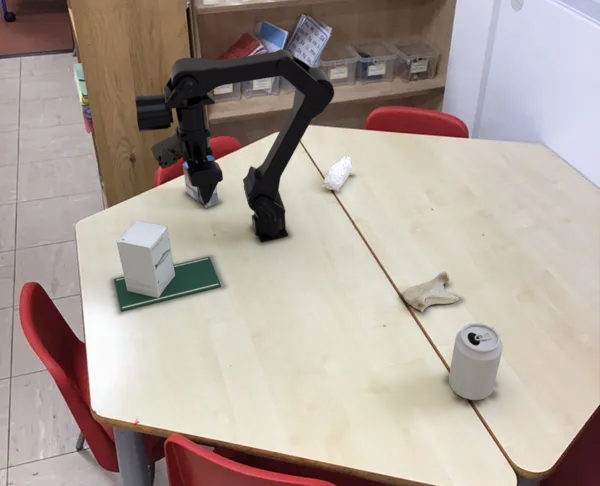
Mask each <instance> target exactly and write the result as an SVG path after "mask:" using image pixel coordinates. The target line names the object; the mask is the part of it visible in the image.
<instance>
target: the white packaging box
mask: <svg viewBox="0 0 600 486" xmlns="http://www.w3.org/2000/svg"><path fill="white" fill-rule="evenodd" d="M116 246H117V250H118V255H119V259H120V264H121V268H122V273H123V277H124V278H125V282H126V287H127V291H130V292H134V293H139V294H143V295H147V296H152V297H156V298H159V296H160V295H161V293H162V292H163V291H164V289H165V288H166V286H167V285H168V284H169V283H170V281H171V280H172V279H173V278H174V276H175V272H174V265H175V264H174V259H173V254H172V253H173V252H172V247H171V242H170V235H169V230H168V226H164V225H160V224H154V223H148V222H144V221H138V220H135V221H134V222H133V223H132V224H131V225H130V227H128V229H126V231H124V233H123V234H122V235H121V236H120V237H119V239H118V240H117V241H116Z"/></svg>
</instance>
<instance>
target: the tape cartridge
mask: <svg viewBox="0 0 600 486" xmlns="http://www.w3.org/2000/svg"><path fill="white" fill-rule="evenodd" d="M206 157H207V158H208V160H209V161H211V160H213V161H215V157H214V156H213V155H209V156H206ZM187 169H188V165H187V162H186V161H185V162H183V163H182V171H183V177H184V185H185V191H186V194H187V195H188V196H190V197H191V198H193V200H195V201H196V202H198V204H200V205H201V206H202V207H204V208H206V209H208V208H211V207H213V206H215V205H217V204H219V194H218V185H217V186H216V188H215V190H214V192H213V195H212V197H211V199H210V201H209V203H206V204H204V203H203V201H202V198H201V195H200V192H199V189H198V187H194V186H192V185H191V183H190V181H189V179H188V173H187Z"/></svg>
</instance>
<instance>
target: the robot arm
mask: <svg viewBox="0 0 600 486" xmlns="http://www.w3.org/2000/svg"><path fill="white" fill-rule="evenodd" d="M277 77H282V78H284V79H285V80H286V81H288V82H289V83H290V84H291V85H292V86H293V87H294V88H295V89H294V96H293V101H292V106H291V109H290V111H289V113H288V115H287V117H286V119H285V121H284V123H283V125H282V127H281V128H280V130H279V132H278V133H277V136H276V137H275V140H274V141H273V144H272V145H271V147H270V149H269V151H268V153H267V155H266V157H265V159H264V160H263V162H262V163H261V165H259V166H257V167H255V166H252V165H251V166H250V167H249V169H248V171H247V174H246V175H245V177H244V178H243V179H242V181H243V191H244V194H245V198H246V202H247V205H248V208H249V209H250V210H251V211H253V214H252V215H251V225H252V231H253V233H254V235H255V236H256V237H257V238H258V240H259V242H260V243H266V242H271V241H276V240H279V239H284V238H287V237H289V232H288V231H287V229H286V228H287V227H286V207H285V205H284V203H283V202H284V201H283V199H282V196H281V193H280V185H281V178H282V176H283V174H284V171H285V170H286V168H287V166H288V165H289V163H290V161H291V159H292V157H293V156H294V153H295V152H296V150H297V148H298V146H299V145H300V142H301V141H302V139H303V137H304V135H305V133H306V131H307V130H308V127H309V126H310V124H311V123H312V121H313V120H314V119H316V117H318V116H320V115H321V114H323V112H324V111H325V110H326V108H327V107H328V106H329V105H330V104H331V102H332V101H333V99H334V96H335V89H334V88H335V87H334V86H333V84H332V82H331V80H330V78H329V77H328V75H327V74H326V72H325V71H324V70H323V69H321V68H320V67H311V66H310V65H309V64H307V63H306V62H305V61H303V60H302V59H300V58H299V57H296V56H295V55H293V54H291V52H290V51H289V50H287V49H281V48H280V49H277V50H276V51H271V52H264V53H258V54H252V55H244V56H239V57H231V58H226V59H225V58H224V59H220V60H219V59H217V60H216V59H215V60H214V59H213V60H212V59H208V58H203V57H182V58H178V59H176V60H175V61H174V63H173V65H171V69H170V77H169V79H168V80H167V82H166V83H165V85H164V86H163V88H162V91H163V93H161V94H160V93H159V94H151V95H143V94H142V95H136V96H135V97H134V99H135V101H134V102H135V109H136V121H137V123H136V124H137V129H138V132H139V133H142V132H143V133H144V132H151V131H160V130H168V129H169V128H171V127H172V124H174V123H175V121H174V115H173V109H175V116H176V122H177V123H176V124H177V125H176V126H175V127H176V128H174V130H175V132H174V133H173V135H172V136H168V137H166V138H164V139H163V140H160V141H158V142H157V143H155V144H153V145H152V146H151V148H150V151H151V153H152V155H153V157H154V159H155V161H156V162H157V164H158V166H159V167H160V169H163V170H164V169H167V168H170V167H173V166H174V165H176V164H178V161H180V160H181V159H182V161H183V163H185V162H187V165H188V169H187V173H188V179H189V181H190V183H191V185H192V186H194V187H198V189H199V192H200V195H201V198H202V201H203V203H204V204H206V203H209V201H210V199H211V197H212V195H213V192H214V190H215V188H216V186H217V187H218V184H219V183H221V182H222V181H223V180H224V175H223V174H224V173H223V170H222V168H221V165H220V164H219V163H218V162H216V161H215V160H214V161H213V160H211V161H209V160H208V158H207V157H206V156H209V155H211V156H213V154H214V153H213V149H212V147H211V143H210V137H212V135H211V130H210V129H209V127H208V117H207V109H206V106H209V105H215V104H216V101H215V96H214V94H213V93H212V91H214V90H215V89H217V88H219V87H223V86H226V85H233V84H240V83H245V82H252V81H258V80H265V79H271V78H277Z"/></svg>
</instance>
